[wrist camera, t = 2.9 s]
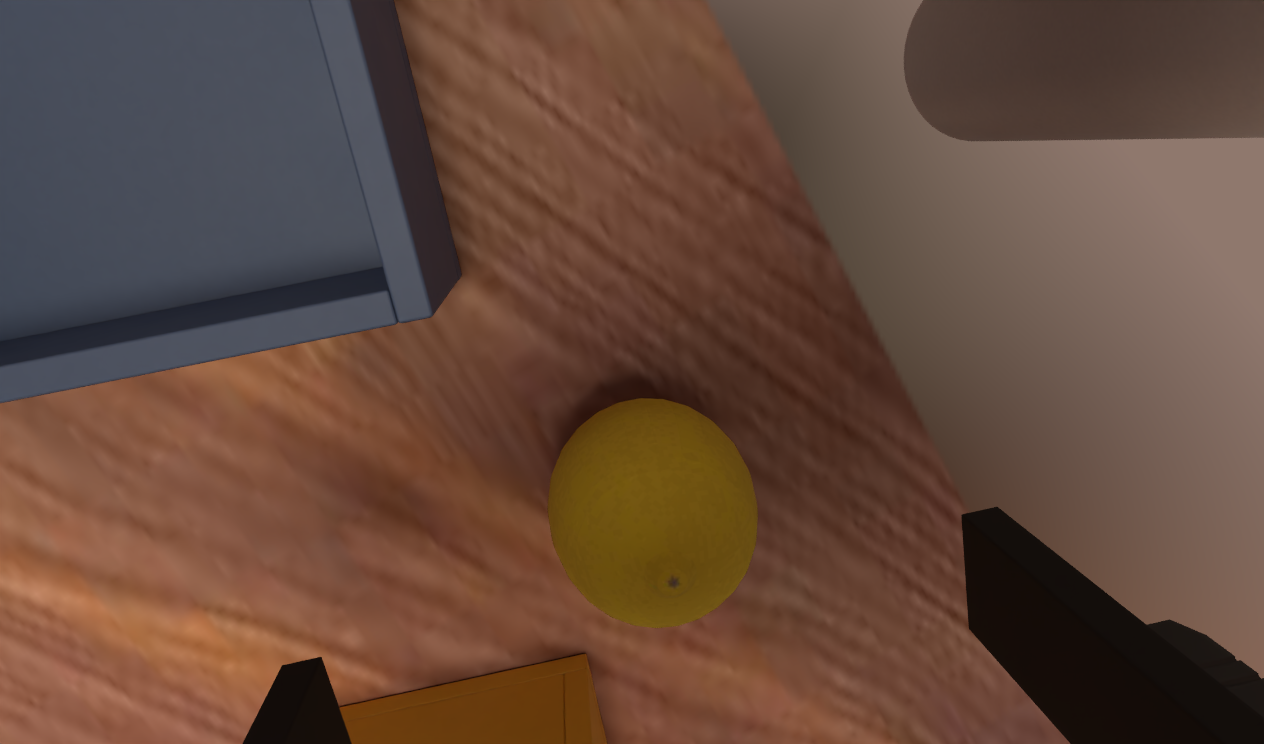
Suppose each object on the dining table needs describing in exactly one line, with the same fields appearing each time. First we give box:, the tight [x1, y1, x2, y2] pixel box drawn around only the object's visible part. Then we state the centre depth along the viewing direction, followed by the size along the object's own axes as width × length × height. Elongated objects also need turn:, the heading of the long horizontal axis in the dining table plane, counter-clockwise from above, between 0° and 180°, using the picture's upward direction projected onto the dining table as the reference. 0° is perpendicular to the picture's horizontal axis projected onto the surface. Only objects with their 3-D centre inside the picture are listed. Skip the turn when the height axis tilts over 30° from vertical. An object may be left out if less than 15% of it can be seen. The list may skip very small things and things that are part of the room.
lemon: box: [548, 398, 758, 628], centre depth 21 cm, size 6×6×8 cm
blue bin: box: [0, 0, 462, 403], centre depth 18 cm, size 15×15×6 cm
